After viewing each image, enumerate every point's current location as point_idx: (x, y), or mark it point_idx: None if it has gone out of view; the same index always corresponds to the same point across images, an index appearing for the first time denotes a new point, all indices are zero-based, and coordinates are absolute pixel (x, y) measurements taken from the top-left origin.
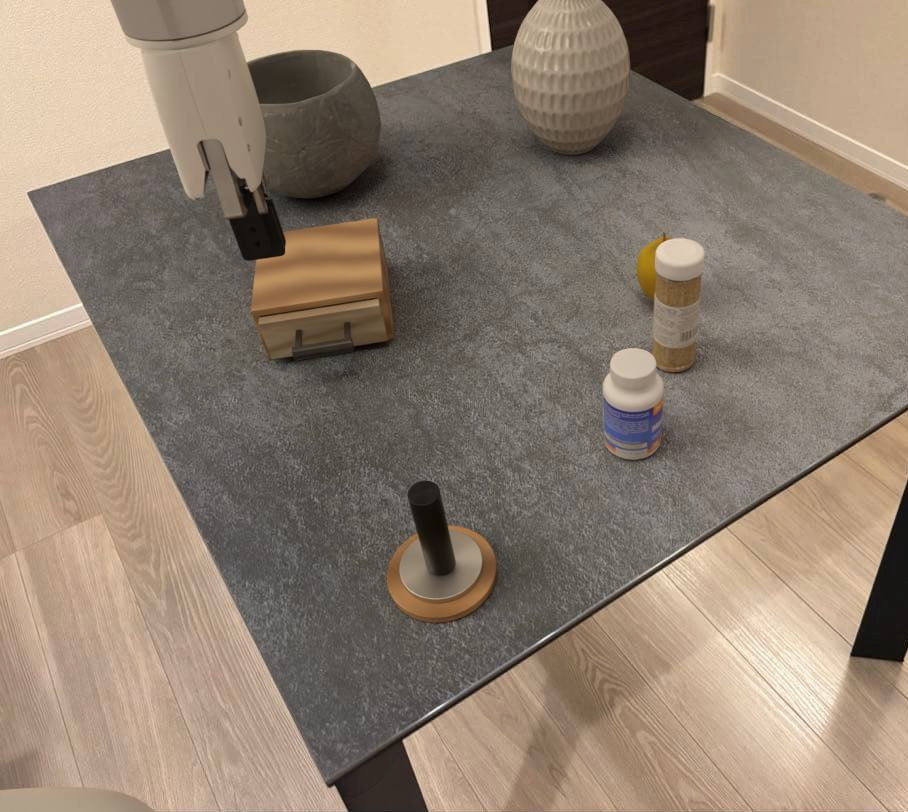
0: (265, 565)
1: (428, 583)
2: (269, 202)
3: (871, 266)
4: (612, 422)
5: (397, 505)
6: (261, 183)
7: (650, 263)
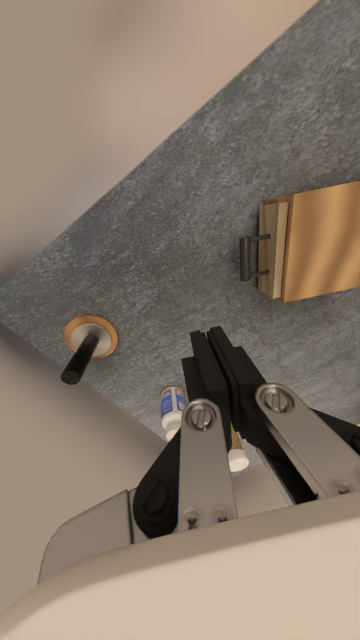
0: (81, 247)
1: (78, 337)
2: (242, 436)
3: (254, 451)
4: (164, 405)
5: (131, 311)
6: (270, 472)
7: None
